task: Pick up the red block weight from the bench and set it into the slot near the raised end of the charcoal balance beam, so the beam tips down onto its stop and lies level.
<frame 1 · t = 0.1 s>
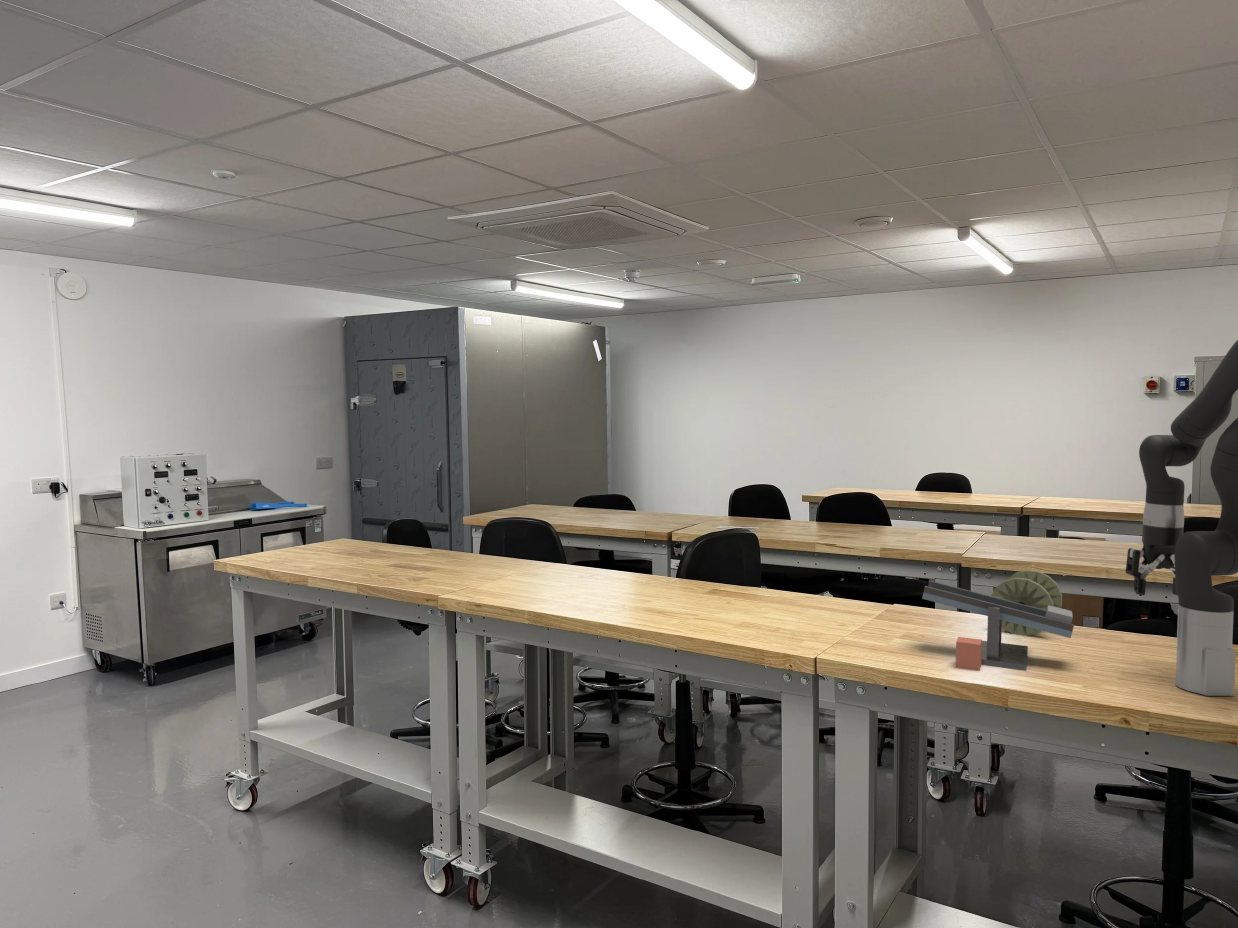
hand: (1158, 594, 175), 17 cm above the workbench, fingers open, 8 cm apart
balance beam: (996, 604, 185), point 12 cm above the workbench, hinge at -10.0°
red block weight: (968, 666, 177), on the workbench
pivot stand: (994, 655, 186), on the workbench
spool: (1025, 629, 212), on the workbench
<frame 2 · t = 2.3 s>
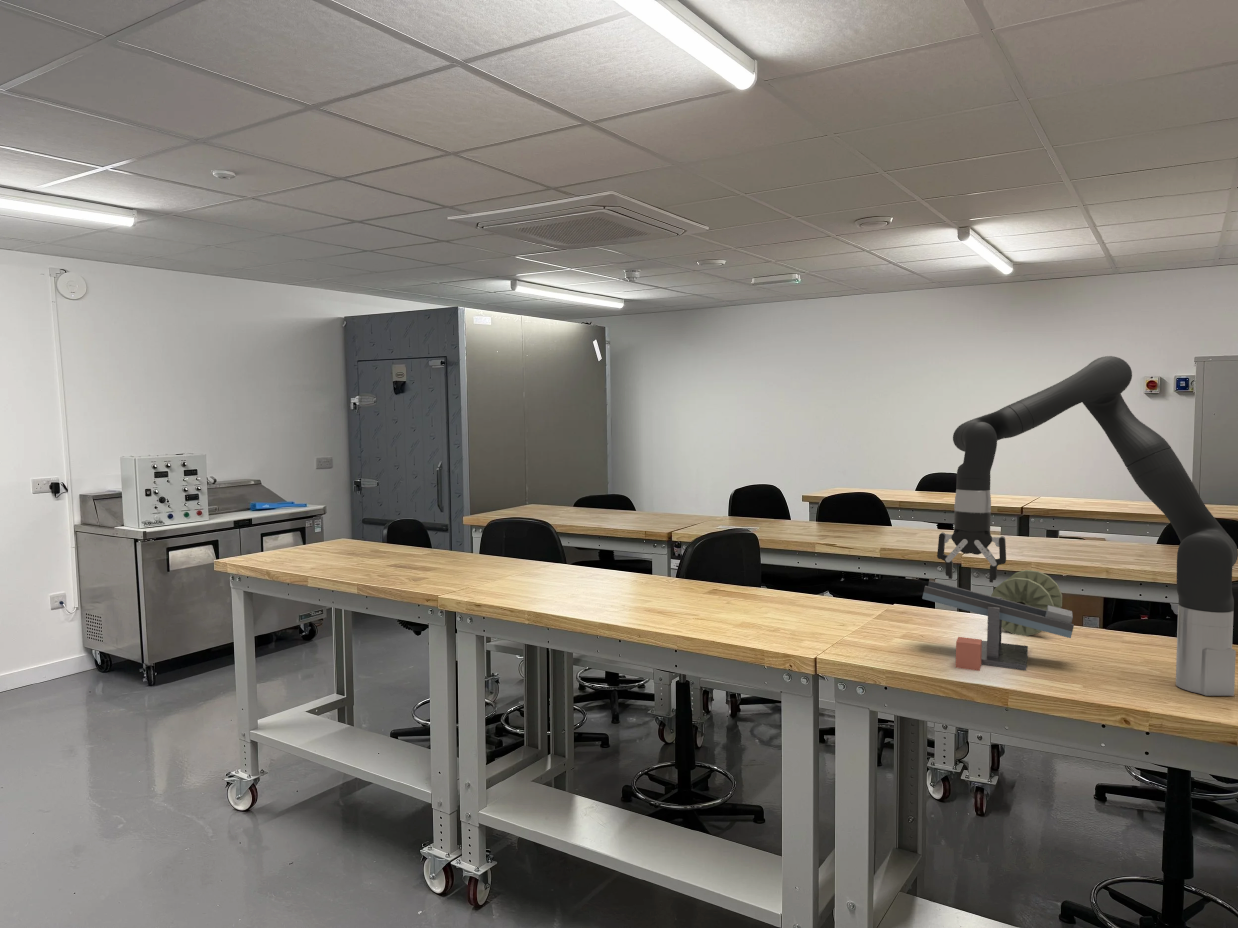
hand: (970, 580, 177), 20 cm above the workbench, fingers open, 8 cm apart
nothing on the workbench moved.
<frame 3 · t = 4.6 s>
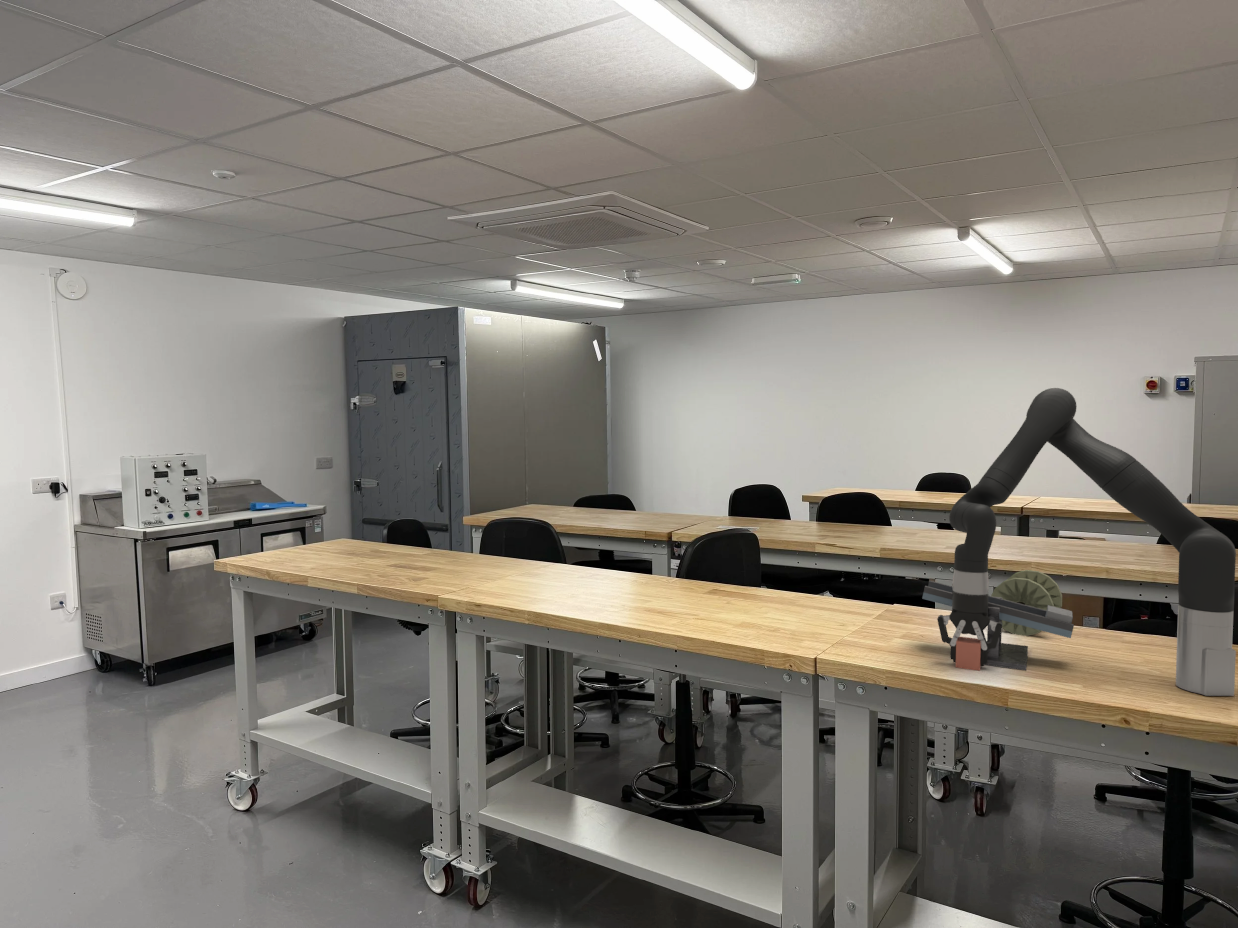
hand: (968, 662, 177), 1 cm above the workbench, fingers closed on red block weight, 5 cm apart
red block weight: (968, 665, 177), on the workbench, touching gripper
everything else where it was.
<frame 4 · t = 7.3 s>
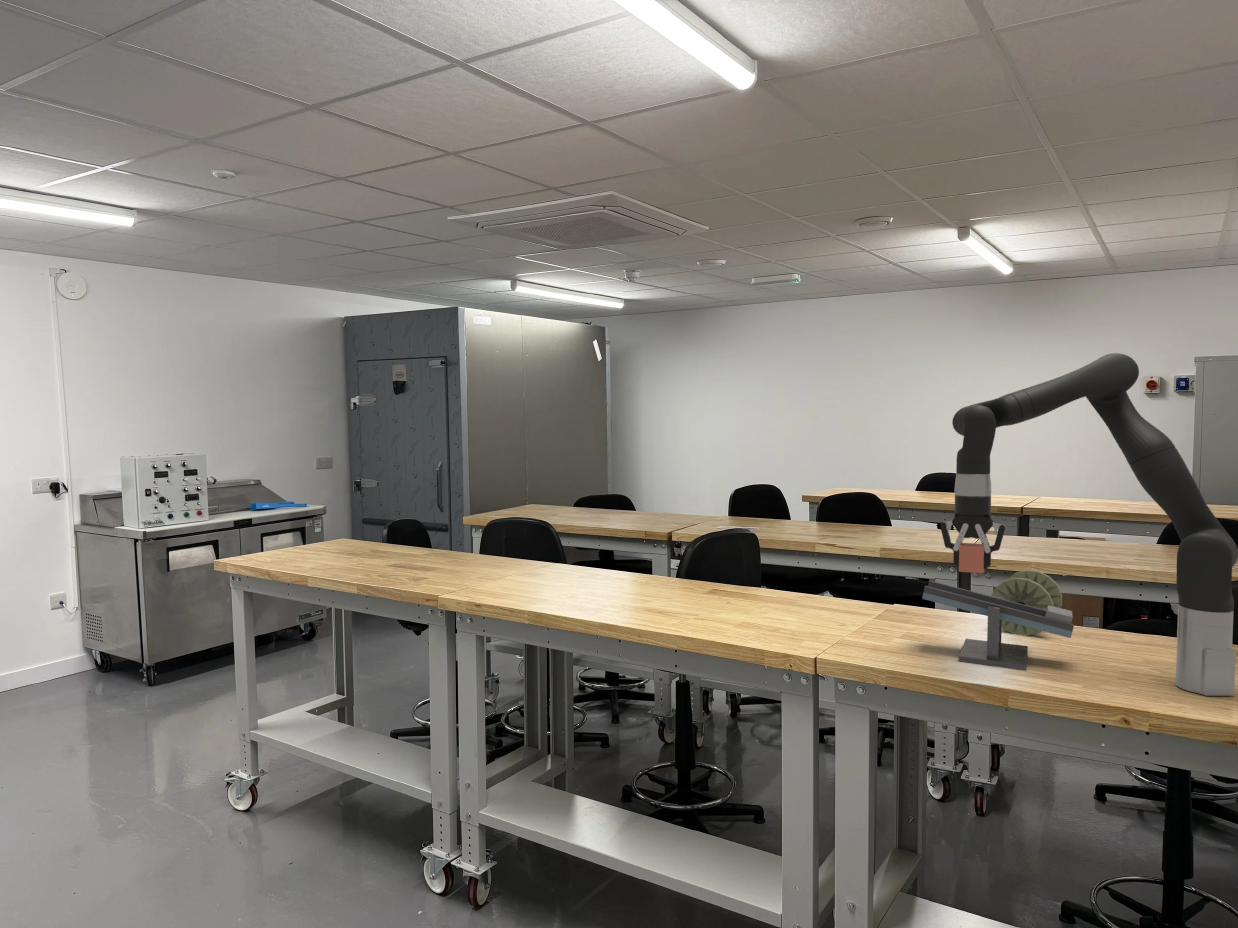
hand: (971, 567, 176), 23 cm above the workbench, fingers closed on red block weight, 5 cm apart
red block weight: (971, 570, 177), point 22 cm above the workbench, touching gripper
everything else where it was.
when the fingers open (15 cm above the workbench, at t = 10.1 s): red block weight drops 1 cm, resting on balance beam.
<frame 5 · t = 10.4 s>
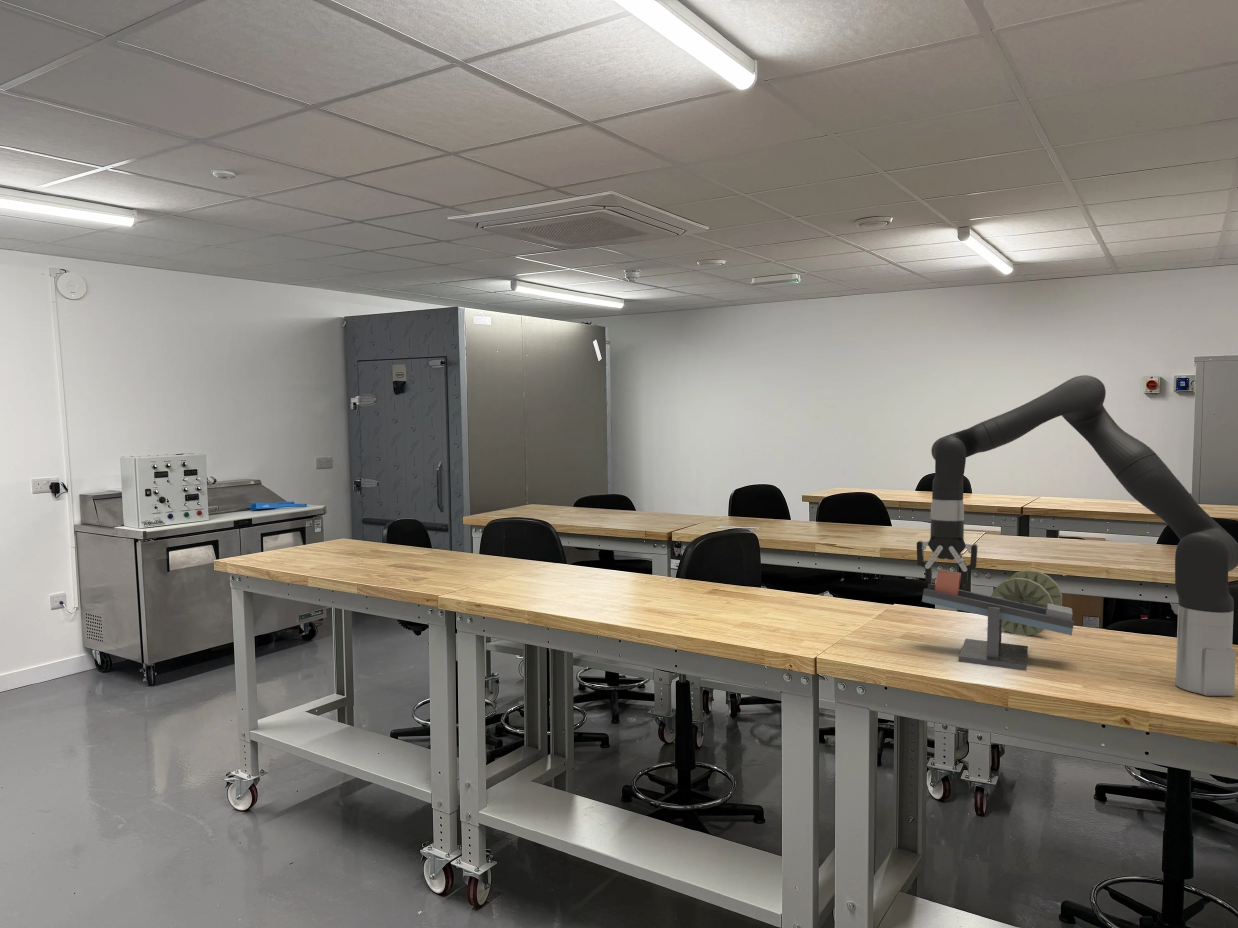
hand: (946, 584, 190), 16 cm above the workbench, fingers open, 7 cm apart
balance beam: (996, 604, 185), point 12 cm above the workbench, hinge at -7.5°, touching red block weight
red block weight: (945, 596, 190), point 13 cm above the workbench, tilted 7°, touching balance beam
everything else where it was.
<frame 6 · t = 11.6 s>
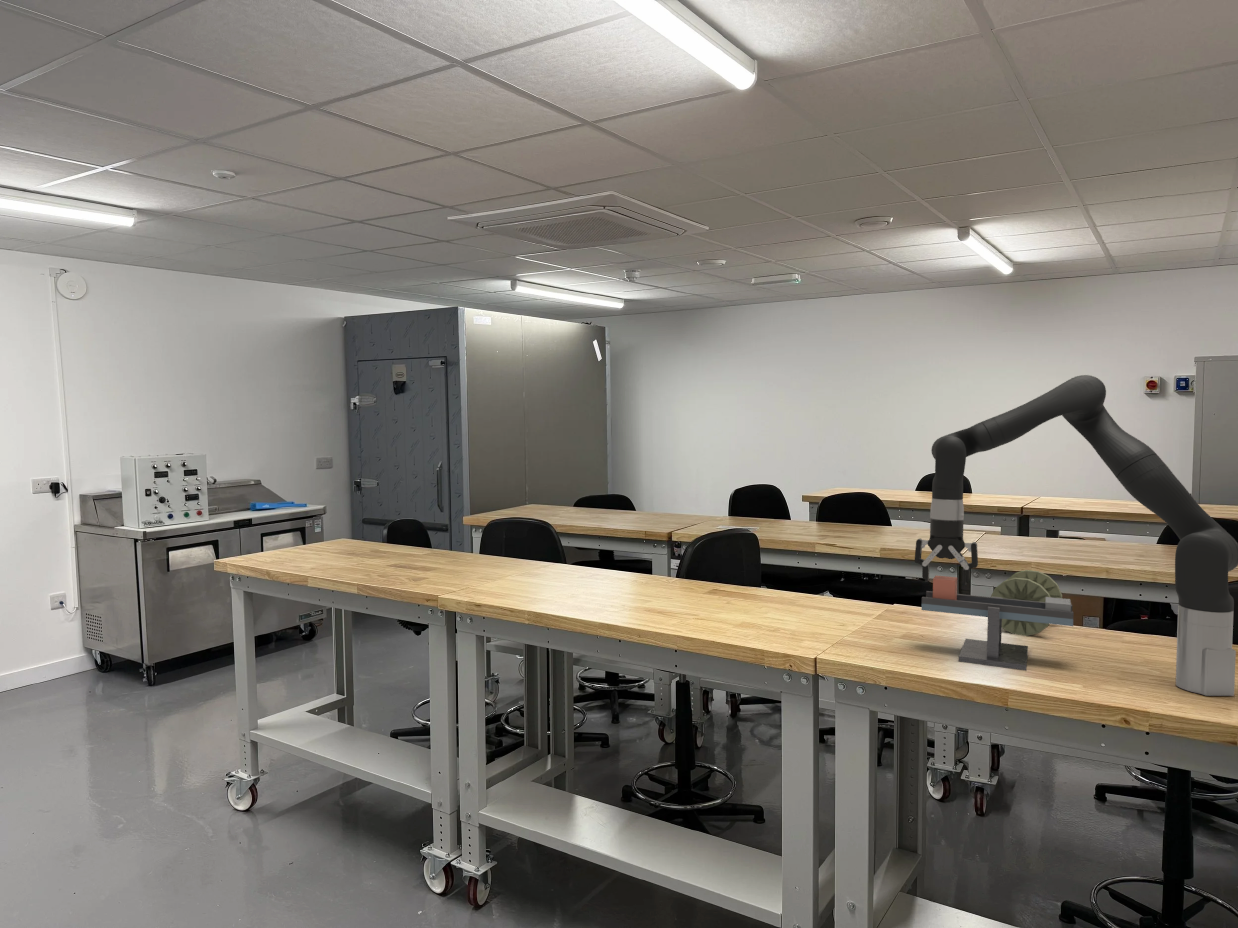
hand: (945, 582, 190), 17 cm above the workbench, fingers open, 8 cm apart
balance beam: (995, 604, 185), point 12 cm above the workbench, hinge at 0.1°, touching red block weight
red block weight: (944, 602, 191), point 12 cm above the workbench, touching balance beam
everything else where it was.
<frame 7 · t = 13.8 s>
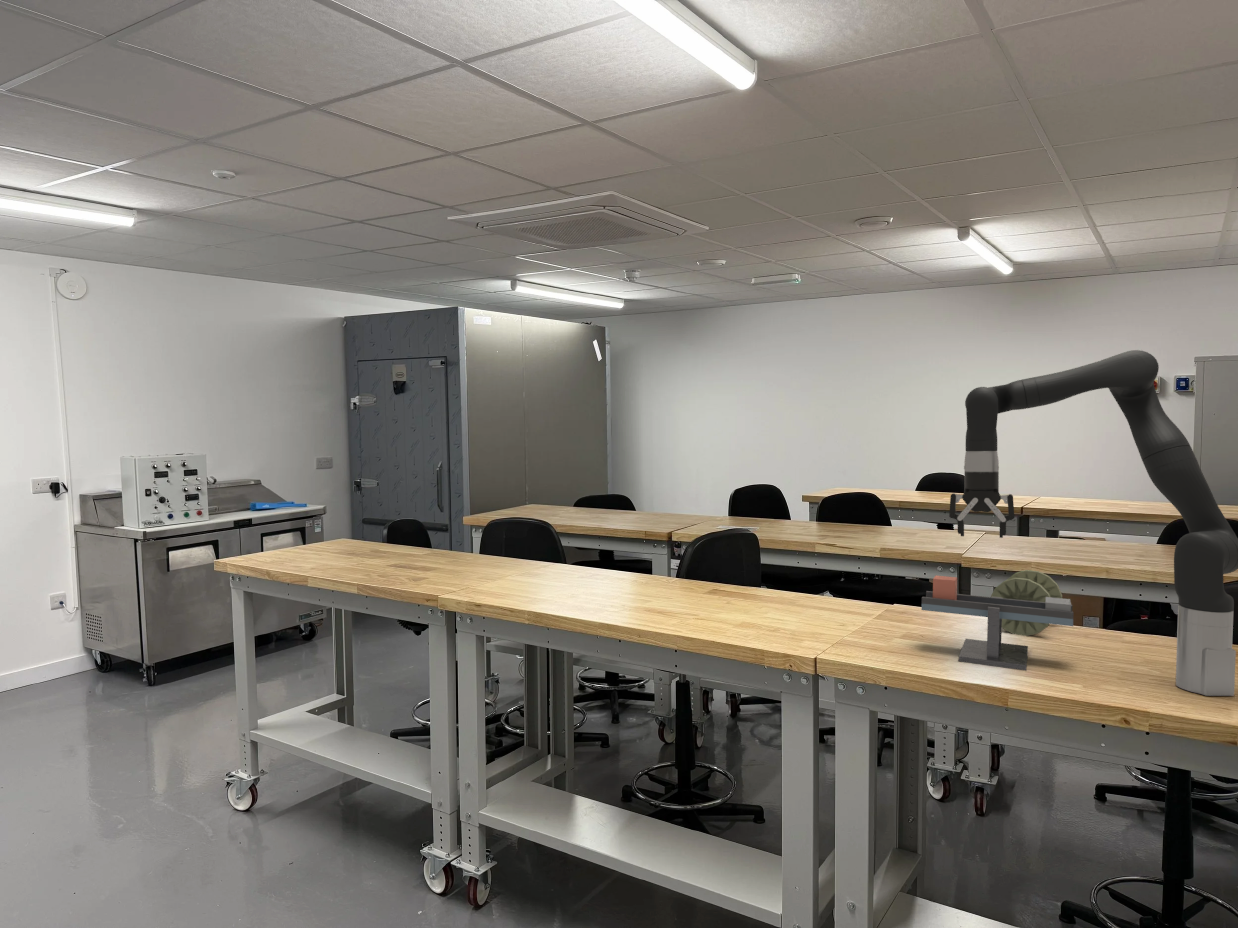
hand: (981, 536, 188), 28 cm above the workbench, fingers open, 8 cm apart
nothing on the workbench moved.
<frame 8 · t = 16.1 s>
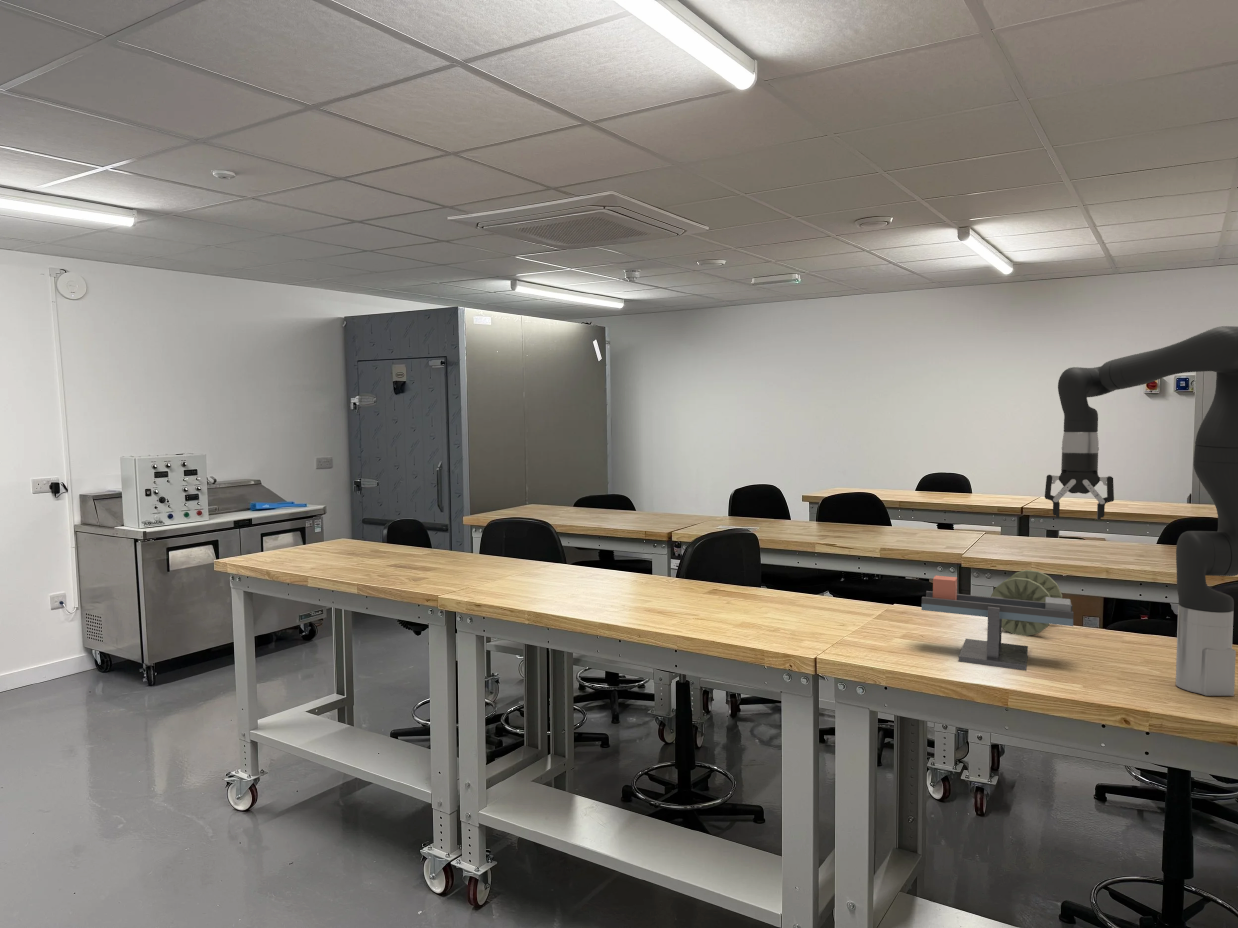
hand: (1077, 518, 186), 33 cm above the workbench, fingers open, 8 cm apart
nothing on the workbench moved.
at the end: balance beam at +0° (first picture: -10°); red block weight 0.3 cm from the target spot on the balance beam, point 0.8 cm above the balance beam's base; the gripper is holding nothing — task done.
